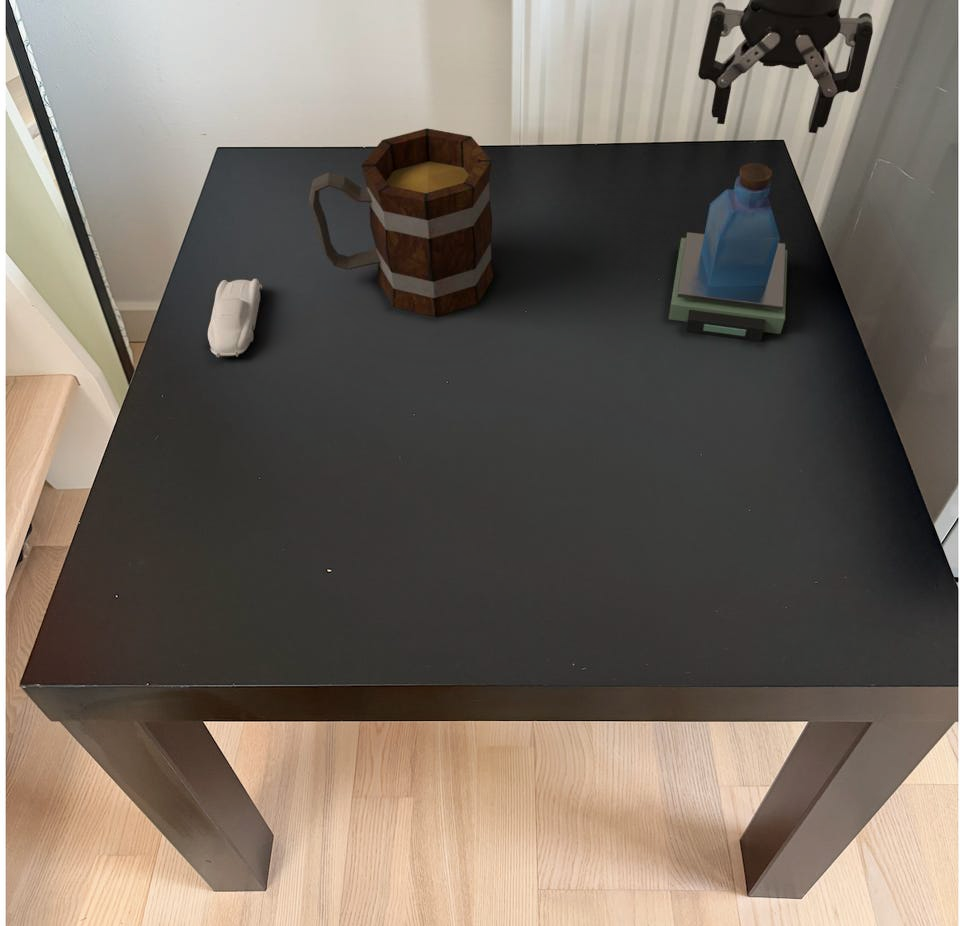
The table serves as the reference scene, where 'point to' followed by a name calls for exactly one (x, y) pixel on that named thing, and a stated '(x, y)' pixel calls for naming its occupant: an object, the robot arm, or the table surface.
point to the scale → (725, 313)
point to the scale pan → (752, 296)
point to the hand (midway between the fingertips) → (766, 124)
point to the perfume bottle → (741, 232)
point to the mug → (422, 220)
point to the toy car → (234, 317)
